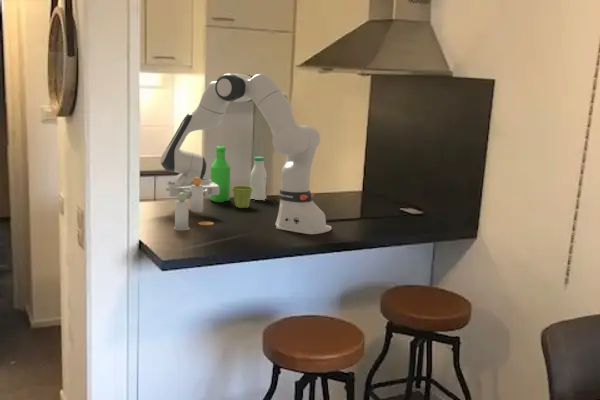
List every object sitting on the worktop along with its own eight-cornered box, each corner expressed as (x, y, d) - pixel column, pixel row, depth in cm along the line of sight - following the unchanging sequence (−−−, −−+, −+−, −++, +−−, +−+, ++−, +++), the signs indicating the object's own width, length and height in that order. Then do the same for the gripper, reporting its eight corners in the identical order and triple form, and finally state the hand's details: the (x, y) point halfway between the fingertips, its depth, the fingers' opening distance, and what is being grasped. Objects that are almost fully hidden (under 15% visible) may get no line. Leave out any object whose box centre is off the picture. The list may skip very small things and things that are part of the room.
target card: (222, 226, 246) (222, 224, 246) (182, 234, 231) (182, 232, 230) (204, 221, 252) (204, 219, 252) (164, 229, 237) (164, 227, 237)
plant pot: (227, 207, 280) (228, 188, 279) (236, 203, 289) (237, 184, 288) (247, 209, 278) (247, 190, 276) (255, 206, 286) (256, 186, 285)
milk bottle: (263, 201, 297) (265, 158, 293) (247, 200, 298) (249, 157, 295) (268, 198, 304) (269, 156, 301) (252, 197, 306) (253, 155, 302)
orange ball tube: (205, 210, 253) (205, 177, 251) (196, 212, 249) (196, 178, 247) (197, 209, 256) (197, 175, 254) (188, 210, 252) (188, 176, 250)
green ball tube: (190, 228, 237) (191, 192, 234) (180, 230, 233) (181, 194, 231) (182, 226, 240) (182, 190, 237) (172, 227, 236) (172, 192, 234)
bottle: (208, 199, 298) (209, 145, 293) (227, 198, 300) (228, 145, 295) (212, 202, 289) (212, 147, 284) (231, 202, 292) (232, 147, 287)
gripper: (164, 180, 259) (170, 186, 246) (214, 179, 266) (222, 184, 254) (164, 196, 260) (170, 202, 248) (214, 194, 268) (222, 200, 255)
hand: (197, 193), depth 251 cm, fingers closed on orange ball tube, 5 cm apart
